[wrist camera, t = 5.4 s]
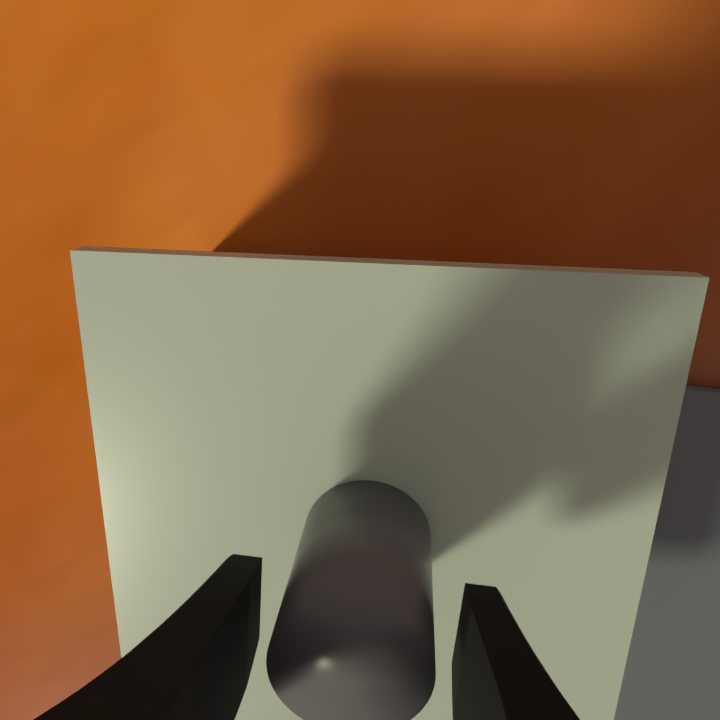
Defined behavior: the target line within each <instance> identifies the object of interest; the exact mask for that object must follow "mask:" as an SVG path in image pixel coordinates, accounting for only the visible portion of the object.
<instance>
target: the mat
mask: <svg viewBox="0 0 720 720" xmlns="http://www.w3.org/2000/svg"><path fill="white" fill-rule="evenodd" d="M614 720H720V388H712V387H703V386H693V385H686V388H685V393H684V398H683V402H682V407H681V411H680V416H679V421H678V425H677V430H676V435H675V439H674V444H673V448H672V453H671V458H670V462H669V467H668V471H667V476H666V481H665V485H664V490H663V495H662V499H661V504H660V508H659V513H658V518H657V522H656V527H655V532H654V536H653V541H652V545H651V550H650V555H649V559H648V564H647V568H646V573H645V578H644V582H643V587H642V592H641V596H640V601H639V605H638V610H637V615H636V619H635V624H634V629H633V633H632V638H631V642H630V647H629V652H628V656H627V661H626V666H625V670H624V675H623V679H622V684H621V689H620V693H619V698H618V702H617V707H616V712H615V716H614Z"/></svg>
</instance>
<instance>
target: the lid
mask: <svg viewBox="0 0 720 720" xmlns="http://www.w3.org/2000/svg"><path fill="white" fill-rule="evenodd" d="M70 255H71V263H72V271H73V279H74V286H75V294H76V302H77V310H78V318H79V326H80V334H81V342H82V350H83V358H84V366H85V373H86V381H87V389H88V397H89V405H90V413H91V421H92V429H93V437H94V445H95V452H96V460H97V468H98V476H99V484H100V492H101V500H102V508H103V516H104V524H105V532H106V539H107V547H108V555H109V563H110V571H111V579H112V587H113V595H114V603H115V611H116V619H117V626H118V634H119V642H120V650H121V658H122V657H124V656H125V655H126V654H127V653H128V652H130V651H131V650H132V649H133V648H134V647H135V646H137V645H138V644H139V643H140V642H141V641H142V640H144V639H145V638H146V637H147V636H148V635H149V634H151V633H152V632H153V631H154V630H155V629H156V628H158V627H159V626H160V625H161V624H162V623H163V622H164V621H165V620H166V619H167V618H168V617H170V616H171V615H172V614H173V613H174V612H175V611H176V610H177V609H178V608H179V607H180V606H181V605H182V604H183V603H184V602H185V601H186V600H187V599H188V598H189V597H190V596H191V595H192V594H193V593H194V592H195V591H196V590H197V589H198V588H199V587H200V586H201V585H202V584H203V583H204V582H205V581H206V580H207V579H208V578H209V577H210V576H211V575H212V574H213V573H214V572H215V571H216V570H217V569H218V568H219V566H220V565H221V564H222V563H223V562H224V561H225V560H226V559H227V558H228V557H229V556H231V555H232V554H238V555H246V556H254V557H262V579H261V608H260V637H259V642H258V646H257V650H256V654H255V658H254V661H253V665H252V669H251V673H250V677H249V680H248V684H247V688H246V691H245V693H244V696H243V699H242V701H241V704H240V707H239V709H238V712H237V715H236V717H235V720H453V713H452V658H453V652H454V646H455V640H456V634H457V628H458V622H459V616H460V610H461V604H462V598H463V592H464V586H465V583H469V584H477V585H485V586H493V587H496V588H497V589H498V590H499V591H500V593H501V595H502V597H503V598H504V600H505V602H506V604H507V606H508V608H509V610H510V612H511V613H512V615H513V617H514V619H515V621H516V622H517V624H518V626H519V628H520V629H521V631H522V633H523V634H524V636H525V638H526V640H527V641H528V643H529V644H530V646H531V648H532V649H533V651H534V653H535V654H536V656H537V657H538V659H539V660H540V662H541V664H542V665H543V667H544V668H545V670H546V671H547V673H548V674H549V676H550V677H551V679H552V681H553V682H554V683H555V685H556V686H557V688H558V689H559V691H560V692H561V694H562V695H563V697H564V698H565V699H566V701H567V702H568V703H569V705H570V706H571V708H572V709H573V710H574V712H575V713H576V715H577V716H578V717H579V719H580V720H614V716H615V712H616V707H617V702H618V698H619V693H620V689H621V684H622V679H623V675H624V670H625V666H626V661H627V656H628V652H629V647H630V642H631V638H632V633H633V629H634V624H635V619H636V615H637V610H638V605H639V601H640V596H641V592H642V587H643V582H644V578H645V573H646V568H647V564H648V559H649V555H650V550H651V545H652V541H653V536H654V532H655V527H656V522H657V518H658V513H659V508H660V504H661V499H662V495H663V490H664V485H665V481H666V476H667V471H668V467H669V462H670V458H671V453H672V448H673V444H674V439H675V435H676V430H677V425H678V421H679V416H680V411H681V407H682V402H683V398H684V393H685V388H686V384H687V379H688V374H689V370H690V365H691V361H692V356H693V351H694V347H695V342H696V338H697V333H698V328H699V324H700V319H701V314H702V310H703V305H704V301H705V296H706V291H707V287H708V282H709V277H707V276H704V275H702V274H700V273H697V272H684V271H660V270H636V269H613V268H589V267H565V266H542V265H518V264H494V263H471V262H447V261H424V260H400V259H376V258H353V257H329V256H305V255H282V254H258V253H234V252H211V251H187V250H164V249H140V248H116V247H93V246H83V247H80V248H76V249H73V250H70Z"/></svg>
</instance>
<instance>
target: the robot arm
mask: <svg viewBox="0 0 720 720" xmlns="http://www.w3.org/2000/svg"><path fill="white" fill-rule="evenodd" d="M261 579H262V557H254V556H246V555H238V554H232V555H231V556H229V557H228V558H227V559H226V560H225V561H224V562H223V563H222V564H221V565H220V566H219V568H218V569H217V570H216V571H215V572H214V573H213V574H212V575H211V576H210V577H209V578H208V579H207V580H206V581H205V582H204V583H203V584H202V585H201V586H200V587H199V588H198V589H197V590H196V591H195V592H194V593H193V594H192V595H191V596H190V597H189V598H188V599H187V600H186V601H185V602H184V603H183V604H182V605H181V606H180V607H179V608H178V609H177V610H176V611H175V612H174V613H173V614H172V615H171V616H170V617H168V618H167V619H166V620H165V621H164V622H163V623H162V624H161V625H160V626H159V627H158V628H156V629H155V630H154V631H153V632H152V633H151V634H149V635H148V636H147V637H146V638H145V639H144V640H142V641H141V642H140V643H139V644H138V645H137V646H135V647H134V648H133V649H132V650H131V651H130V652H128V653H127V654H126V655H125V656H124V657H122V658H121V659H120V660H119V661H117V662H116V663H115V664H113V665H112V666H111V667H110V668H108V669H107V670H106V671H104V672H103V673H102V674H100V675H99V676H98V677H96V678H95V679H94V680H92V681H91V682H89V683H88V684H87V685H85V686H84V687H83V688H81V689H80V690H78V691H77V692H75V693H74V694H72V695H71V696H69V697H68V698H66V699H65V700H63V701H62V702H60V703H59V704H57V705H56V706H54V707H53V708H51V709H49V710H48V711H46V712H45V713H43V714H42V715H40V716H38V717H37V718H35V719H34V720H235V717H236V715H237V712H238V709H239V707H240V704H241V701H242V699H243V696H244V693H245V691H246V688H247V684H248V680H249V677H250V673H251V669H252V665H253V661H254V658H255V654H256V650H257V646H258V642H259V637H260V608H261ZM452 713H453V720H580V719H579V717H578V716H577V715H576V713H575V712H574V710H573V709H572V708H571V706H570V705H569V703H568V702H567V701H566V699H565V698H564V697H563V695H562V694H561V692H560V691H559V689H558V688H557V686H556V685H555V683H554V682H553V681H552V679H551V677H550V676H549V674H548V673H547V671H546V670H545V668H544V667H543V665H542V664H541V662H540V660H539V659H538V657H537V656H536V654H535V653H534V651H533V649H532V648H531V646H530V644H529V643H528V641H527V640H526V638H525V636H524V634H523V633H522V631H521V629H520V628H519V626H518V624H517V622H516V621H515V619H514V617H513V615H512V613H511V612H510V610H509V608H508V606H507V604H506V602H505V600H504V598H503V597H502V595H501V593H500V591H499V590H498V589H497V588H496V587H493V586H485V585H477V584H469V583H465V586H464V592H463V598H462V604H461V610H460V616H459V622H458V628H457V634H456V640H455V646H454V652H453V658H452Z"/></svg>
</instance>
